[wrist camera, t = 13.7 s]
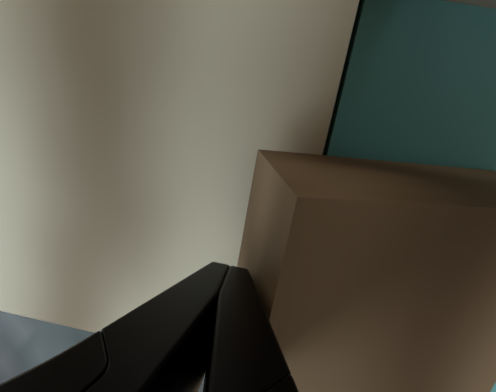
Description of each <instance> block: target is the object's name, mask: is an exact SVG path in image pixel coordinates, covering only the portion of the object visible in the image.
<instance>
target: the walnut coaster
mask: <svg viewBox="0 0 496 392" xmlns="http://www.w3.org/2000/svg"><path fill="white" fill-rule="evenodd" d="M237 267H242V268H246V269H248V270H249V273H250V275H251V277H252V280H253V282H254V285H255V287H256V290H257V292H258V294H259V297H260V299H261V302H262V304H263V307H264V309H265V311H266V314H267V316H268V319H269V321H270V324H271V326H272V328H273V331H274V333H275V336H276V338H277V341H278V343H279V345H280V348H281V350H282V353H283V355H284V357H285V360H286V362H287V365H288V367H289V370H290V372H291V376H292V377H293V379H294V381H295V384H296V386H297V389H298V391H299V392H490V391H491V390H492V388H493V386H494V384H495V382H496V171H493V170H482V169H471V168H460V167H449V166H438V165H427V164H416V163H404V162H393V161H382V160H371V159H360V158H349V157H338V156H327V155H316V154H305V153H294V152H282V151H271V150H260V149H258V151H257V157H256V163H255V168H254V174H253V180H252V185H251V191H250V196H249V202H248V208H247V213H246V219H245V225H244V230H243V236H242V241H241V247H240V253H239V258H238V264H237Z"/></svg>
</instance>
